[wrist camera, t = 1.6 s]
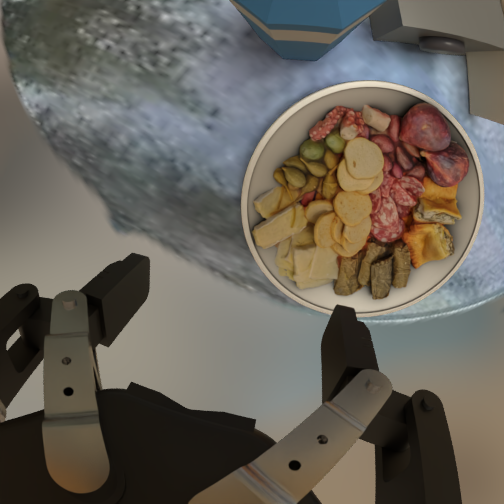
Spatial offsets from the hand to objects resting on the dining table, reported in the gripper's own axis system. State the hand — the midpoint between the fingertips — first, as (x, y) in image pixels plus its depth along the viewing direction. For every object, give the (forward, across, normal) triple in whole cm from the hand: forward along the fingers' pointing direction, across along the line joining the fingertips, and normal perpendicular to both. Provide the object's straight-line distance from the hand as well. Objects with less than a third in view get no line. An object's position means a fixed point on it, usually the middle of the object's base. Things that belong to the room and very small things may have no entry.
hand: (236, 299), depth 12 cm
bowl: (+26, -11, 0) cm, 29 cm away
